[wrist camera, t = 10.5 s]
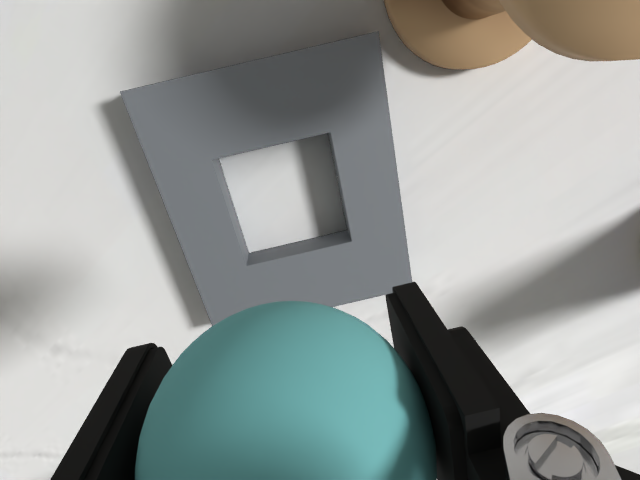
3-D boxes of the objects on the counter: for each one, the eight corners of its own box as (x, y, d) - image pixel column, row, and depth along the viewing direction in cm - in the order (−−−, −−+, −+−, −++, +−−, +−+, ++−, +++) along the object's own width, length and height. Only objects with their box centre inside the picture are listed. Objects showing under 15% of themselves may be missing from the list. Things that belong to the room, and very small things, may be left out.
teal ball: (146, 286, 9) (-33, 548, 4) (374, 234, 9) (493, 427, 4) (218, 448, 11) (164, 754, 6) (403, 405, 11) (504, 675, 6)
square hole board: (133, 90, 22) (119, 91, 20) (370, 35, 22) (378, 31, 20) (219, 317, 28) (215, 334, 27) (404, 274, 28) (412, 288, 27)
